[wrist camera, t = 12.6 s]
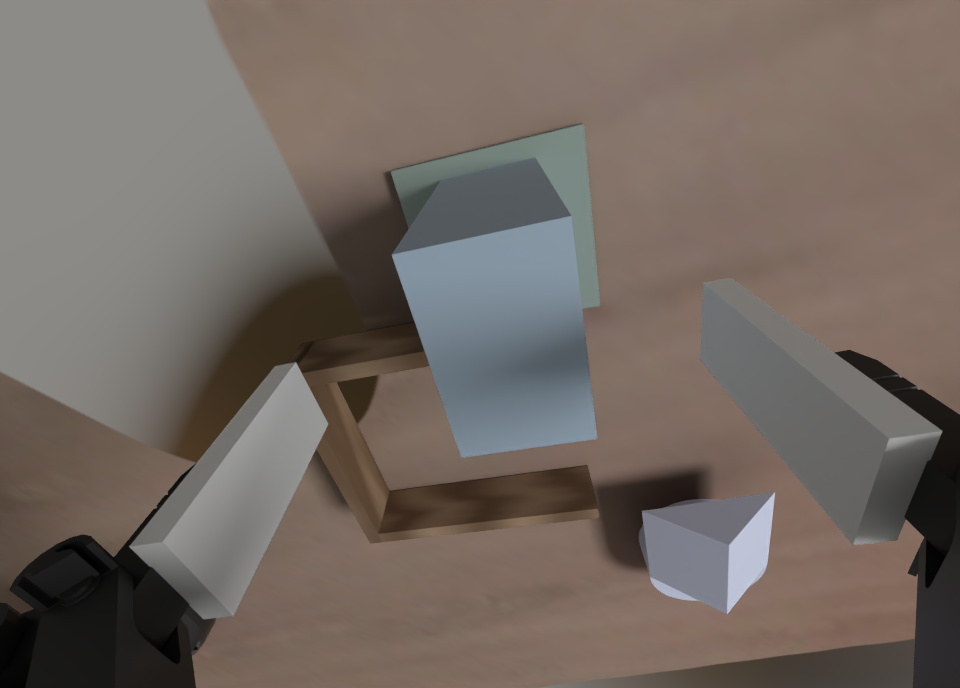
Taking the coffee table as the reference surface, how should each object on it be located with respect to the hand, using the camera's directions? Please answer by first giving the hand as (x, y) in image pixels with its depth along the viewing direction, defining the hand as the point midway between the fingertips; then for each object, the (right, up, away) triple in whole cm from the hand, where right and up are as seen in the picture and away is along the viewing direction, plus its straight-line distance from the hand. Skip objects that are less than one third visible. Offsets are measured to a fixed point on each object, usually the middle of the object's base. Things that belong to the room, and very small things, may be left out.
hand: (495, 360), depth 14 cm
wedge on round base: (+18, -14, +22) cm, 32 cm away
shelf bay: (-1, -5, +17) cm, 18 cm away
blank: (+1, +6, +10) cm, 12 cm away
